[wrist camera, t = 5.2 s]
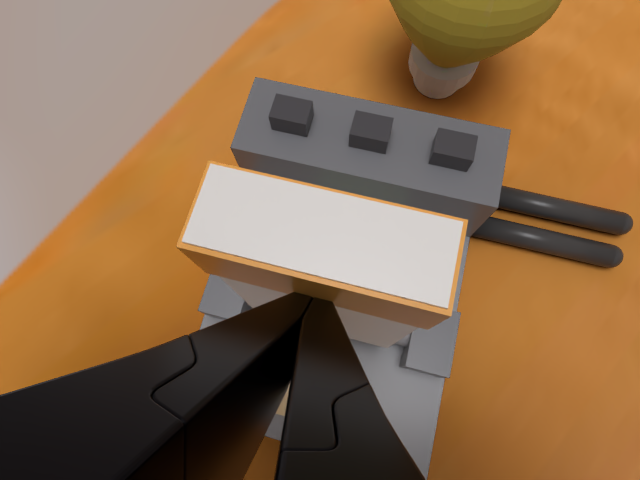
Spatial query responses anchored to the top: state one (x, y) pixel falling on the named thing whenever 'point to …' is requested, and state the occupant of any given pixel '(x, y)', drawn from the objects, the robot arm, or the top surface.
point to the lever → (326, 250)
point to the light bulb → (463, 36)
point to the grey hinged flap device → (411, 190)
